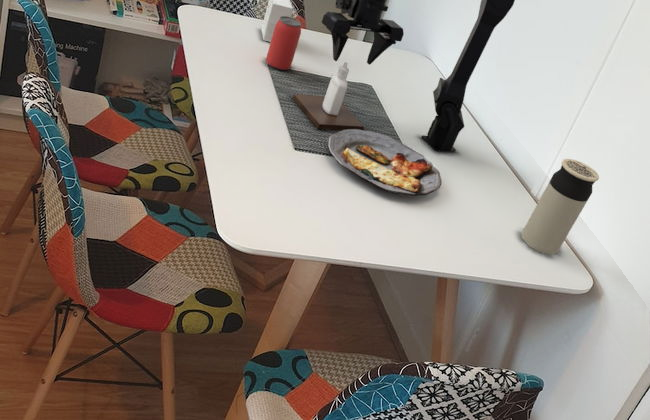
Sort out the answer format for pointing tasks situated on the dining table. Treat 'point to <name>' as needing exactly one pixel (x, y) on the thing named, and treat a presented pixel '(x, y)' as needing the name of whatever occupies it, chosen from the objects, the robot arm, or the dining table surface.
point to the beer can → (284, 43)
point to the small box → (274, 16)
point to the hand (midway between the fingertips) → (351, 62)
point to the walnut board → (326, 114)
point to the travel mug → (559, 206)
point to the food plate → (385, 162)
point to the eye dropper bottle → (336, 91)
